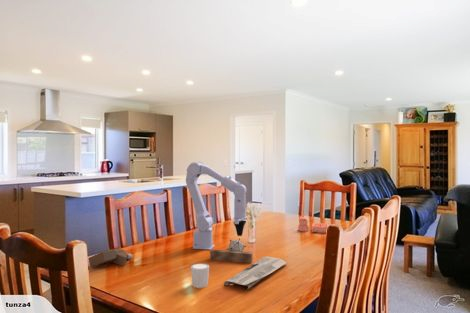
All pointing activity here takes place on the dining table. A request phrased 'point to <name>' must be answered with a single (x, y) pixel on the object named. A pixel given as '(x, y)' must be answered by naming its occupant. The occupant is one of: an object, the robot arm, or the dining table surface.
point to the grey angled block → (110, 257)
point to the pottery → (315, 227)
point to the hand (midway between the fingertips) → (239, 235)
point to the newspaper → (256, 271)
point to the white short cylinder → (200, 275)
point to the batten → (231, 256)
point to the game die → (236, 246)
